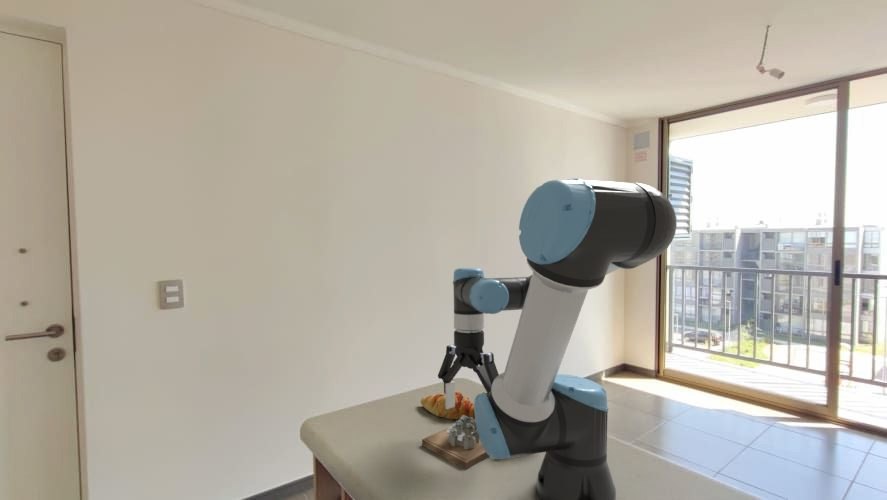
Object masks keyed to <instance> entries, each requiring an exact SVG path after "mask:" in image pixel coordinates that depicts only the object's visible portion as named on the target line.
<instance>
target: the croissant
mask: <svg viewBox="0 0 887 500" xmlns="http://www.w3.org/2000/svg"><path fill="white" fill-rule="evenodd" d="M420 404H421V405H422V406H423V407H424V408H425V410H427V412H430V413H431V414H433V415H435V416H436V417H437V418H439V417H440V418H445V419H448V420H459V419H460V418H461V417H462V415H465V416H467V417H469V418H470V417H471V418H474V419H475V413H474V402H471V401H470V400H469V397H466V396H463V394H462V393H461V392H460V391H456V390H455V407H452V408H450V409H446V399H445V394H444V393H436V394H435V395H428V396H425V397H422V398H421V399H420Z"/></svg>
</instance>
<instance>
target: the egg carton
mask: <svg viewBox="0 0 887 500" xmlns="http://www.w3.org/2000/svg"><path fill="white" fill-rule="evenodd" d="M447 428H448V429H447V435H449V443H450V444H451V445H452V446H454V447H455V446H458V445H459V446H463V447H464V449H466V450H468V449H471V448H475V445H476V442H479V441H480V437H479V434H478V430H477V426H476V421H475V419H474V418H471V417H470V418H469V417H467V416H465V415H462V417H461V418H460V419H457V420H456V421H455V422H454V423H453V424H452V425H451V426H449V427H447Z"/></svg>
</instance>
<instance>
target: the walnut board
mask: <svg viewBox="0 0 887 500" xmlns="http://www.w3.org/2000/svg"><path fill="white" fill-rule="evenodd" d="M448 428H449V427H447V428H444V429H441V430H440V431H438V432H436V433H433V434H431V435H429V436H427V437H424V438H422V439H421V445H422V447H424V448H426V449H428V450H430V451H432V452H434V453H435V454H437V455H439V456H441V457H443V458H445V459H447V460H449V461H450V462H452V463H454V464H455V465H458V466H460V467H461V468H463V469H465V470H467V469H469V468H471V467H473V466H474V465H476V464H478V463H480V462H482V461H483V460H485V459H487V458H489V457H490V456H489V455H488V454H487V453H486V451H485V449H484V447H483V445H482V443H481V440H480V441H479V442H476V445H475V448H471V449H468V450H466V449H464V447H463V446H459V445H458V446H455V447H454V446H452V445H451V444H450V443H449V435H447V429H448Z"/></svg>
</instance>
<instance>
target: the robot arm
mask: <svg viewBox="0 0 887 500" xmlns="http://www.w3.org/2000/svg"><path fill="white" fill-rule="evenodd" d="M676 229H677V215H676V212H675V209H674V207H673V205H672V203H671V201H670V200H669V199H668V198H667V196H666V195H665V194H664V193H662V191H660V190H658V189H657V188H655V187H653V186H651V185H649V184H645V183H642V182H641V183H640V182H625V181H624V182H623V181H605V180H603V181H602V180H589V179H588V180H587V179H586V180H585V179H581V178H575V177H574V178H568V179H554V180H553V179H552V180H549V181H546V182H544V183H542V185H539V186H537V187H536V188H535V189H534V191H532V193H531V194H530V195H529V196H528V199H527V200H526V202H525V203H524V207H523V209H522V212H521V215H520V219H519V225H518V230H519V231H520V234H519V235H518V240H519V245H520V248H521V251H522V253H523V255H524V256H525V257H526V264H527V265H528V267H529V269H531V271H532V274H531V275H530V276H522V277H521V276H520V277H516V276H515V277H495V278H494V277H490V278H489V277H488V278H487V277H484V276H485V275H484V271H483V269H482V268H480V267H459V268H456V269H454V271H453V281H452V285H453V329H454V331H453V344H449V345H446V348H445V349H446V350H445V356H444V359H443V361H442V363H441V366H440V368H439V371H438V374H437V377H438V379H440V380H442V382H443V392H444V393H443V394H445V399H446V409H450V408H452V407H455V391H456V385H455V382H456V381H454V380H455V379H454V378H455V377H456V376H457V374H458V373H459V371H461V368H462V367H463V368H467V369H470V370H473V372H474V373H475V374H476V375H477V377H478V379H479V381H480V382H481V384H482V386H483V387H484V390H485V392H486V393H485V392H482V393H478V394H477V395H476V396H475V397H474V398H475V399H474V402H473V404H474V413H475V421H476V426H477V430H478V434H479V437H480V440H481V443H482V445H483V447H484V449H485V451H486V453H487V454H488V455H489V457H490V458H491V459H494V460H502V459H503V460H504V459H507V460H511V459H514V458H519V457H525V456H529V455H530V456H531V455H536V454H541V453H542V454H543V453H545V454H544V457H543V459H542V461H541V466H539V467H540V468H539V470H538V474H537V478H536V491H537V494H538V496H539V498H540V499H541V500H617V489H616V486H615V483H614V480H613V476H612V473H611V469H610V466H609V463H608V454H607V452H608V415H609V414H608V412H609V407H608V394H607V391H606V389H605V388H604V387H603V386H601V385H600V384H599V383H597V382H595V381H593V380H590V379H587V378H584V377H581V376H577V375H572V374H563V373H560V374H559V371H560V368H561V367H560V366H561V364H562V362H563V359H564V356H565V354H566V351H567V348H568V346H569V342H570V340H571V337H572V334H573V332H574V330H575V327H576V324H577V321H578V318H579V316H580V313H581V311H582V307H583V305H584V303H585V300H586V297H587V295H588V291H589V290H592V289H595V288H597V287H599V286H601V285H602V284H603V282H604V280H605V278H606V276H607V275H609V274H611V273H613V272H615V271H617V270H619V269H621V270H632V269H635V268H638V267H640V266H641V265H644V264H647V263H648V262H650V261H652V260H654V259H655V258H657V257H659V256H660V255H662V254H663V253H664V252H665V251H666V250H667V249H668V248H669V246H670V245H671V243H673V240H674V239H675V235H676ZM518 310H521V314H520V316H519V320H518V323H517V327H516V331H515V334H514V338H513V340H512V344H511V347H510V352H509V355H508V359H507V361H506V365H505V369H504V372H501V373H500V374H499V371H498V369H497V365H496V363H495V358H494V357H495V356H494V355H495V354H494V353H493V352H488V353H487V352H486V353H485V352H484V350H483V347H484V345H485V332H484V330H483V329H484V327H485V324H484V323H485V319H484V318H485V315H484V314H486V315H487V314H491V315H496V314H498V313H500V312H504V311H505V312H507V311H518ZM455 357H456V358H455ZM454 359H455V360H454Z"/></svg>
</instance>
